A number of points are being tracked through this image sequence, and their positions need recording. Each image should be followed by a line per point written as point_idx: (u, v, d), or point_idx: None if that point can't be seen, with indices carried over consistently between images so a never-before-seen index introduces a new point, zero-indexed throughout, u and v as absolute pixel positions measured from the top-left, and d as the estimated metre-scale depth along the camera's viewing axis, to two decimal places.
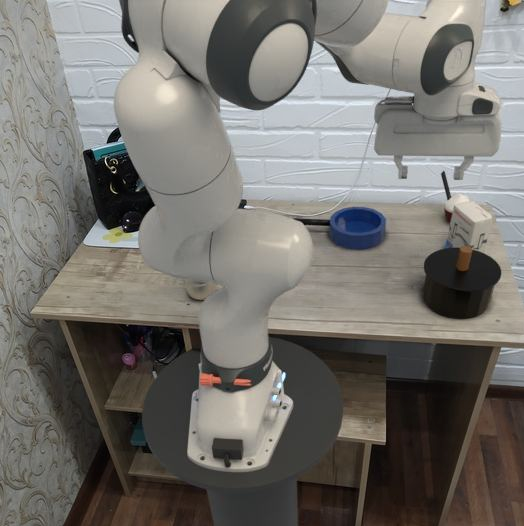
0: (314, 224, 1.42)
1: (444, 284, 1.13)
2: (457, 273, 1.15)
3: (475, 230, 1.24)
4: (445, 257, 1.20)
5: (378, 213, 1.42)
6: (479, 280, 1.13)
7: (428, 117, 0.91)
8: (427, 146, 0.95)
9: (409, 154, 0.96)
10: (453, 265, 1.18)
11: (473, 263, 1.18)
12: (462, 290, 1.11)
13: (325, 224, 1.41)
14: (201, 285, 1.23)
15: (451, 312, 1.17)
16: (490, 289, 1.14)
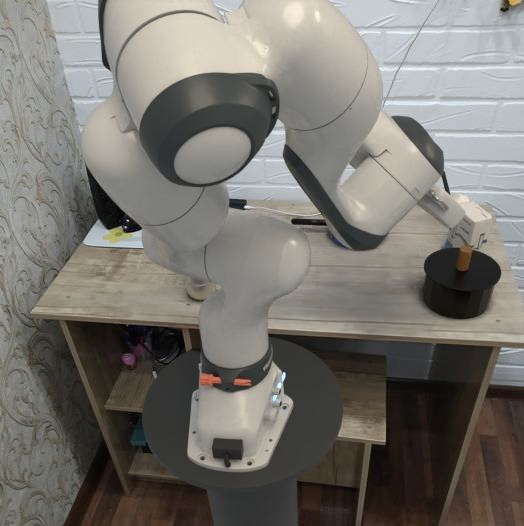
0: (314, 224, 1.42)
1: (444, 284, 1.13)
2: (457, 273, 1.15)
3: (475, 230, 1.24)
4: (445, 257, 1.20)
5: None
6: (479, 280, 1.13)
7: None
8: None
9: None
10: (453, 265, 1.18)
11: (473, 263, 1.18)
12: (462, 290, 1.11)
13: (325, 224, 1.41)
14: (201, 285, 1.23)
15: (451, 312, 1.17)
16: (490, 289, 1.14)
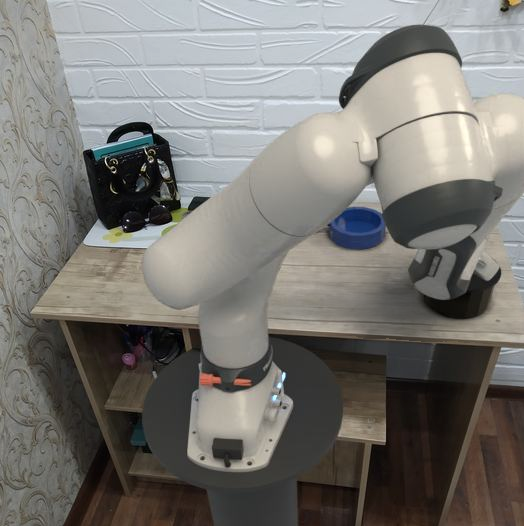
0: None
1: None
2: None
3: None
4: None
5: (378, 213, 1.42)
6: (479, 280, 1.13)
7: None
8: None
9: None
10: None
11: None
12: None
13: None
14: None
15: (451, 312, 1.17)
16: (490, 289, 1.14)
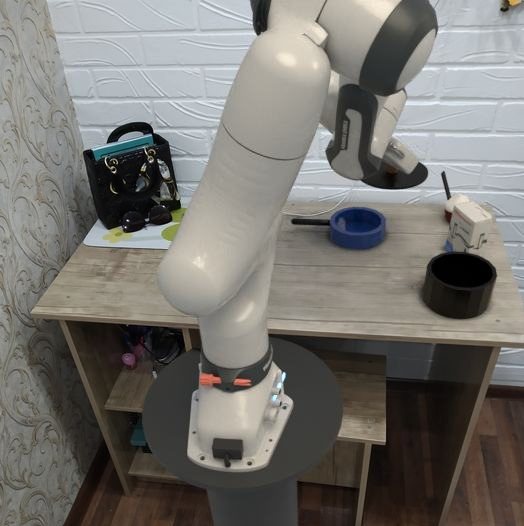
0: (314, 224, 1.42)
1: (372, 183, 1.19)
2: (386, 175, 1.22)
3: (475, 230, 1.24)
4: None
5: (378, 213, 1.42)
6: (406, 180, 1.20)
7: None
8: None
9: None
10: (384, 169, 1.24)
11: None
12: (388, 187, 1.18)
13: (325, 224, 1.41)
14: None
15: (451, 312, 1.17)
16: (490, 289, 1.14)
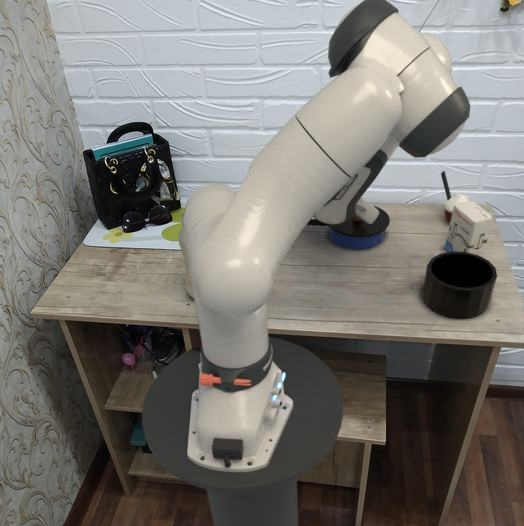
0: (314, 224, 1.42)
1: (340, 231, 1.36)
2: (353, 222, 1.38)
3: (475, 230, 1.24)
4: None
5: None
6: (370, 227, 1.36)
7: None
8: None
9: None
10: None
11: None
12: (354, 235, 1.34)
13: (325, 224, 1.41)
14: None
15: (451, 312, 1.17)
16: (490, 289, 1.14)
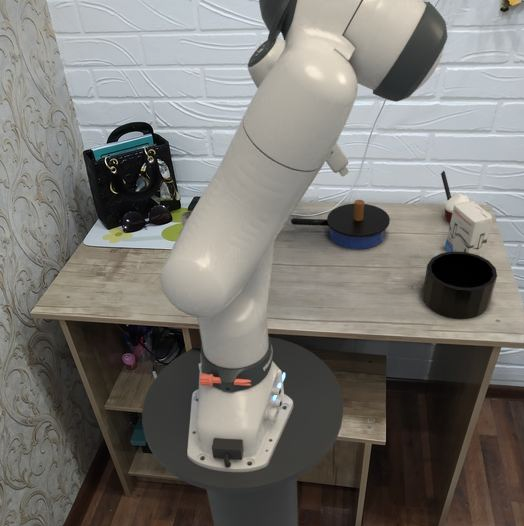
0: (314, 224, 1.42)
1: (340, 231, 1.36)
2: (353, 222, 1.38)
3: (475, 230, 1.24)
4: (346, 211, 1.43)
5: None
6: (370, 227, 1.36)
7: None
8: None
9: None
10: (351, 216, 1.41)
11: (368, 215, 1.41)
12: (354, 235, 1.34)
13: (325, 224, 1.41)
14: None
15: (451, 312, 1.17)
16: (490, 289, 1.14)
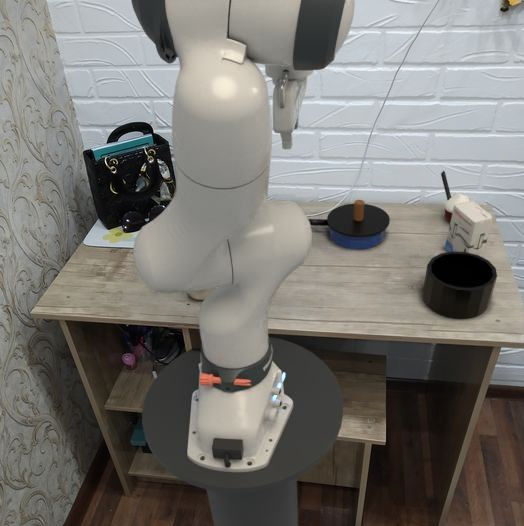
0: (314, 224, 1.42)
1: (340, 231, 1.36)
2: (353, 222, 1.38)
3: (475, 230, 1.24)
4: (346, 211, 1.43)
5: None
6: (370, 227, 1.36)
7: (301, 79, 1.03)
8: (298, 106, 1.07)
9: (296, 120, 1.06)
10: (351, 216, 1.41)
11: (368, 215, 1.41)
12: (354, 235, 1.34)
13: (325, 224, 1.41)
14: None
15: (451, 312, 1.17)
16: (490, 289, 1.14)
